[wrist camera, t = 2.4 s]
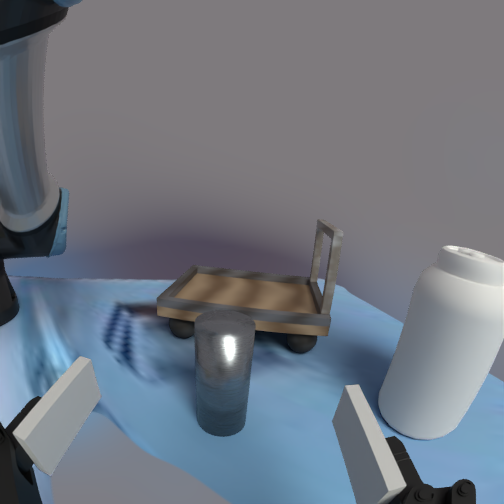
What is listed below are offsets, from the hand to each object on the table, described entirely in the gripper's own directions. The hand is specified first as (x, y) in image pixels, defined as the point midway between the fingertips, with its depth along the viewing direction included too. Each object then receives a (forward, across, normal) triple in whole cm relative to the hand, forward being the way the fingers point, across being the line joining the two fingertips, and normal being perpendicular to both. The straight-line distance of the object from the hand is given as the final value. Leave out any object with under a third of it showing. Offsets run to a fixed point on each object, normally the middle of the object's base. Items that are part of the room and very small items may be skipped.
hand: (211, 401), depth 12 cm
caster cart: (+32, +2, -12) cm, 35 cm away
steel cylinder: (+10, 0, -13) cm, 16 cm away
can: (+10, +24, -13) cm, 29 cm away
